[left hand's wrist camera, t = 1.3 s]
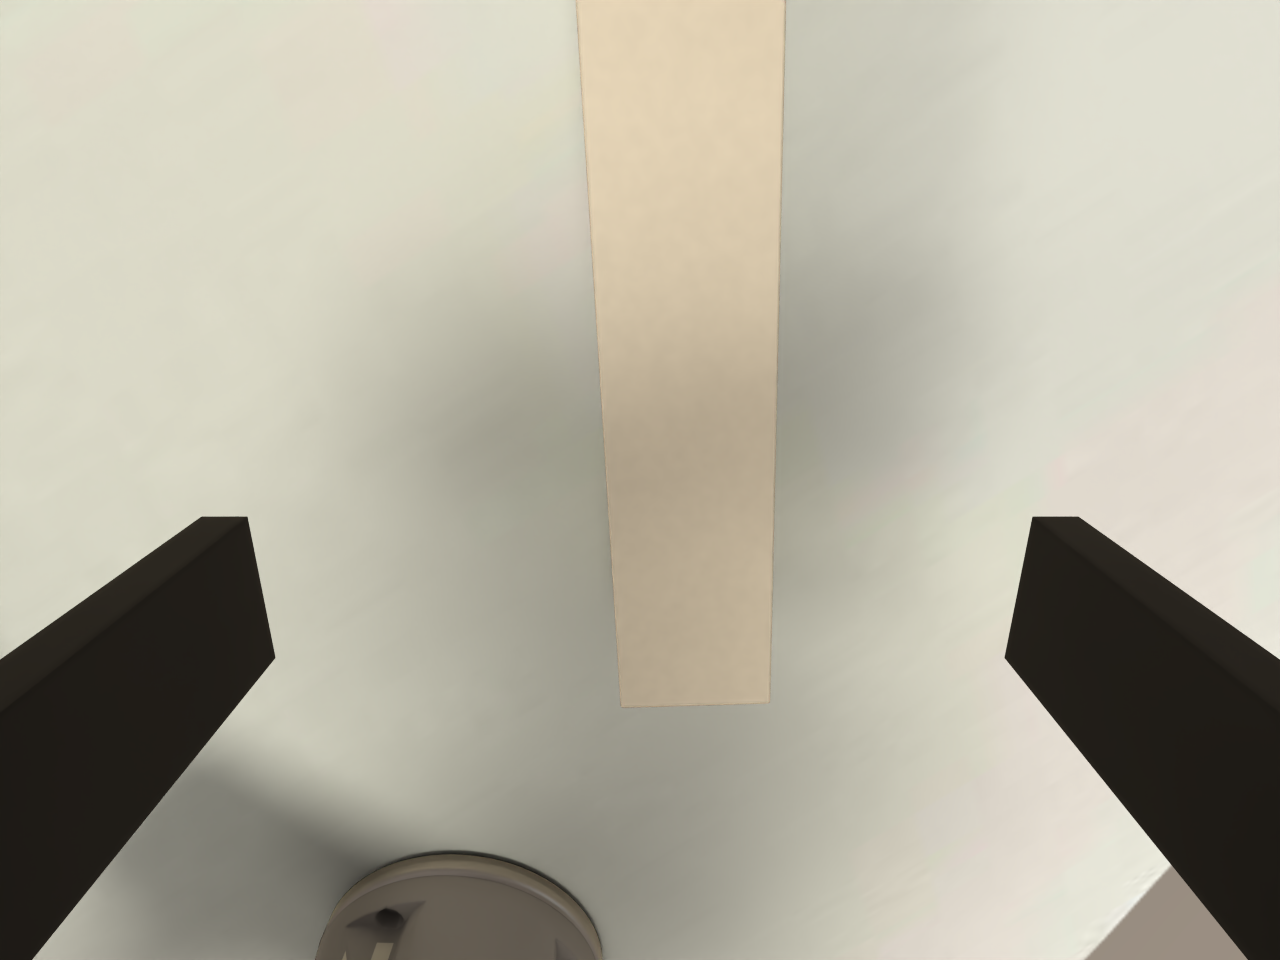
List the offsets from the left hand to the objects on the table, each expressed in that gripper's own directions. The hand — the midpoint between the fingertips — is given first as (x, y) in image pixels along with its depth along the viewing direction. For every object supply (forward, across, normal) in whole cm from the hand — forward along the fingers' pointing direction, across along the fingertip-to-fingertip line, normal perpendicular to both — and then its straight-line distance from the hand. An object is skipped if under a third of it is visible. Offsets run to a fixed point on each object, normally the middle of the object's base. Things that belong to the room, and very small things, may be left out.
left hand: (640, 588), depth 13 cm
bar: (+18, 0, -28) cm, 33 cm away
